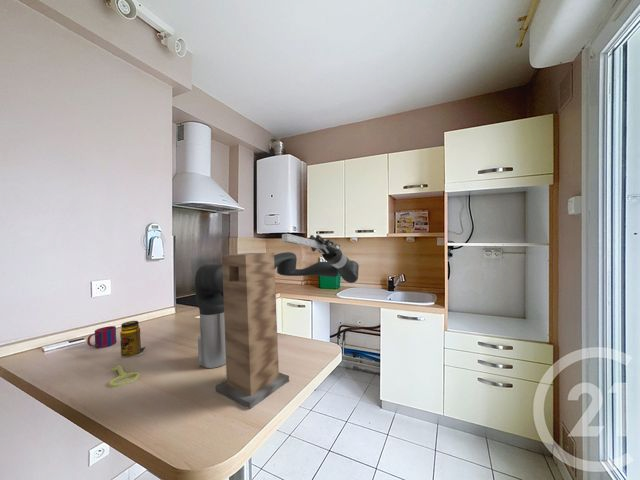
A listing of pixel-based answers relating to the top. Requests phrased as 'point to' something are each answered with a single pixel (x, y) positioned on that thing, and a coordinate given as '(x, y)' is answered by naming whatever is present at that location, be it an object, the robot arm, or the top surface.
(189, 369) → the top surface
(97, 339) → the mug
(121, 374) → the yellow-green flat looped piece
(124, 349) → the condiment
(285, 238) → the pin
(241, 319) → the post
